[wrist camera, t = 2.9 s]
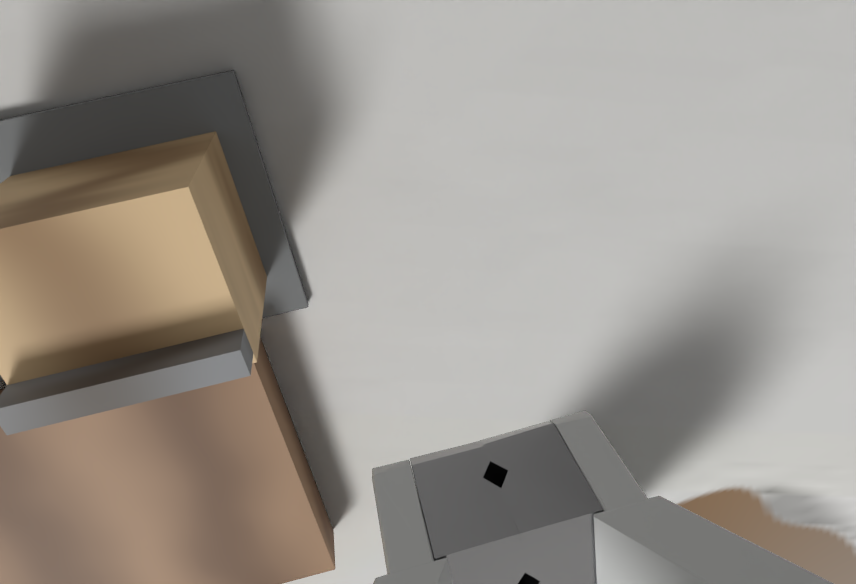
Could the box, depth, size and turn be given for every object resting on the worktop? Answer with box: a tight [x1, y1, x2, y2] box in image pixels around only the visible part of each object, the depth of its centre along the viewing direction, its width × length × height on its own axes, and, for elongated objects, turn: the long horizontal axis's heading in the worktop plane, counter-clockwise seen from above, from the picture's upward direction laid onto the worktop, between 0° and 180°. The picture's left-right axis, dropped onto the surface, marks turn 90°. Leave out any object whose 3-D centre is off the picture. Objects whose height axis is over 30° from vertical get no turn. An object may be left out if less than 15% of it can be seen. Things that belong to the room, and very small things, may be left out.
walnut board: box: [0, 338, 335, 584], centre depth 23 cm, size 18×11×2 cm, turn 100°
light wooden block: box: [0, 131, 267, 435], centre depth 17 cm, size 6×5×6 cm
